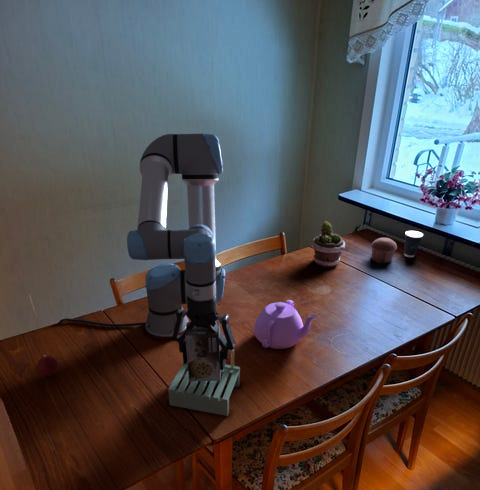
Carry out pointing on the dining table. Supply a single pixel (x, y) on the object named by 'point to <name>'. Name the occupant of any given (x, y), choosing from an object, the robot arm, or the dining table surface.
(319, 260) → the flowerpot
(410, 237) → the dixie cup
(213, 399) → the rack
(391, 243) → the muffin
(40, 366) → the onion
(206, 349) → the coffee box
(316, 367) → the dining table surface
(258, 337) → the teapot
